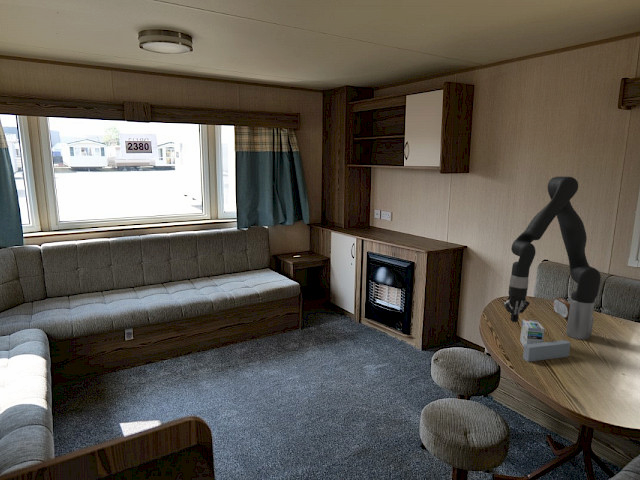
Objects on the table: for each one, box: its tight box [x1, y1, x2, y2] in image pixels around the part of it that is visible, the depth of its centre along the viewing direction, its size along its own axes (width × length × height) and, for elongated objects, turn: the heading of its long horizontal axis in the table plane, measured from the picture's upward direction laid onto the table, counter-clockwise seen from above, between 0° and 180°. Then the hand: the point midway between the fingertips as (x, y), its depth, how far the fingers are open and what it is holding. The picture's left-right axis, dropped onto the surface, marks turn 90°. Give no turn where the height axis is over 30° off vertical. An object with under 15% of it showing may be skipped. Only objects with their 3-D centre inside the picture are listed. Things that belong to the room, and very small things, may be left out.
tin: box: [552, 297, 570, 320], centre depth 223 cm, size 15×3×8 cm, turn 179°
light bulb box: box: [519, 318, 545, 348], centre depth 186 cm, size 11×7×11 cm, turn 168°
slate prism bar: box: [522, 339, 571, 363], centre depth 176 cm, size 20×3×6 cm, turn 105°
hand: (513, 321), depth 196 cm, fingers closed
